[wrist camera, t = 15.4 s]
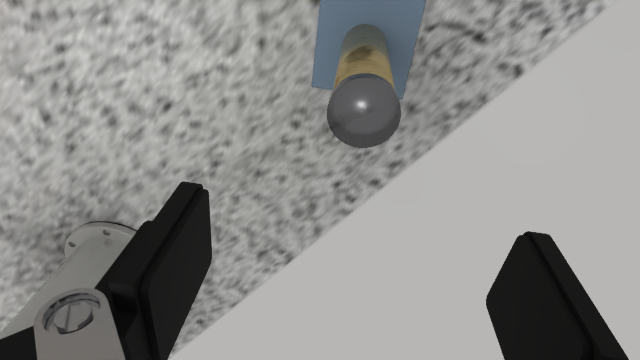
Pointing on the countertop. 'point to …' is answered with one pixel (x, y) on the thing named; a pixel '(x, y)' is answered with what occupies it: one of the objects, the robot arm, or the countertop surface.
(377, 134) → the spice shaker
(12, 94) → the countertop surface
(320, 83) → the rubber mat
